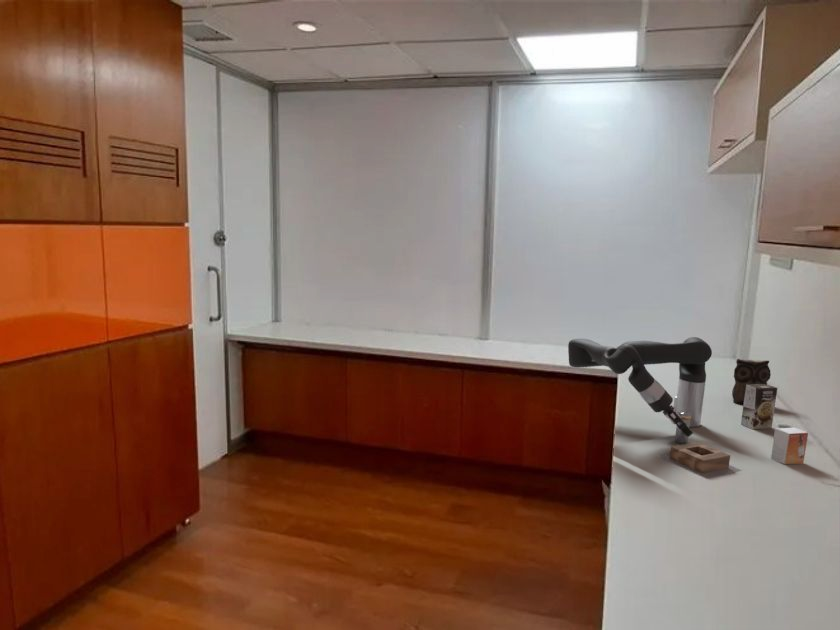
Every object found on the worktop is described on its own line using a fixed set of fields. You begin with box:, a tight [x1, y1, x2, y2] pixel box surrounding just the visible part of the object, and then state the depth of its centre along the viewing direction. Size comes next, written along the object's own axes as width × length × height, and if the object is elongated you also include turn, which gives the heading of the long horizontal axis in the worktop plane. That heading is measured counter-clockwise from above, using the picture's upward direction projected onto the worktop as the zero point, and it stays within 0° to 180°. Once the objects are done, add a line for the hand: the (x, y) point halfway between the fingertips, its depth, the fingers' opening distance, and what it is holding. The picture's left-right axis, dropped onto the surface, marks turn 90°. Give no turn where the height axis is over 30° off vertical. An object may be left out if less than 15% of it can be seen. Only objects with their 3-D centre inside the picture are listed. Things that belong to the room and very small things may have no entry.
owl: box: [731, 358, 771, 406], centre depth 262 cm, size 13×13×20 cm
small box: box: [770, 427, 809, 465], centre depth 197 cm, size 8×6×10 cm
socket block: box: [669, 441, 731, 473], centre depth 188 cm, size 12×12×4 cm
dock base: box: [657, 453, 742, 479], centre depth 188 cm, size 18×16×2 cm
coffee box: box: [740, 384, 778, 430], centre depth 231 cm, size 9×6×16 cm
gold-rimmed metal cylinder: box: [674, 411, 691, 445], centre depth 205 cm, size 4×4×12 cm
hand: (686, 430), depth 205 cm, fingers open, 8 cm apart
